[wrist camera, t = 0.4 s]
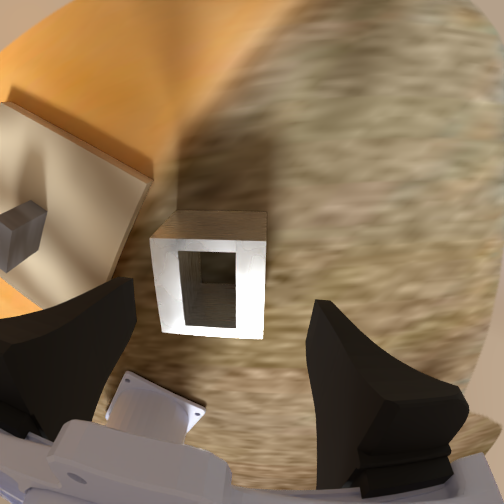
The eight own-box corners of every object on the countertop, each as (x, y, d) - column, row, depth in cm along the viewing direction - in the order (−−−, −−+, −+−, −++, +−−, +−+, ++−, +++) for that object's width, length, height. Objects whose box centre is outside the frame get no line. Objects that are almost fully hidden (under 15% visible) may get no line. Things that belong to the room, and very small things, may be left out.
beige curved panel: (93, 330, 24) (65, 370, 19) (-19, 248, 22) (-55, 272, 17) (153, 180, 19) (117, 200, 14) (11, 101, 17) (-38, 105, 12)
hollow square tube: (264, 292, 22) (262, 338, 17) (182, 289, 22) (162, 332, 17) (266, 211, 19) (266, 241, 15) (176, 210, 20) (149, 238, 15)
